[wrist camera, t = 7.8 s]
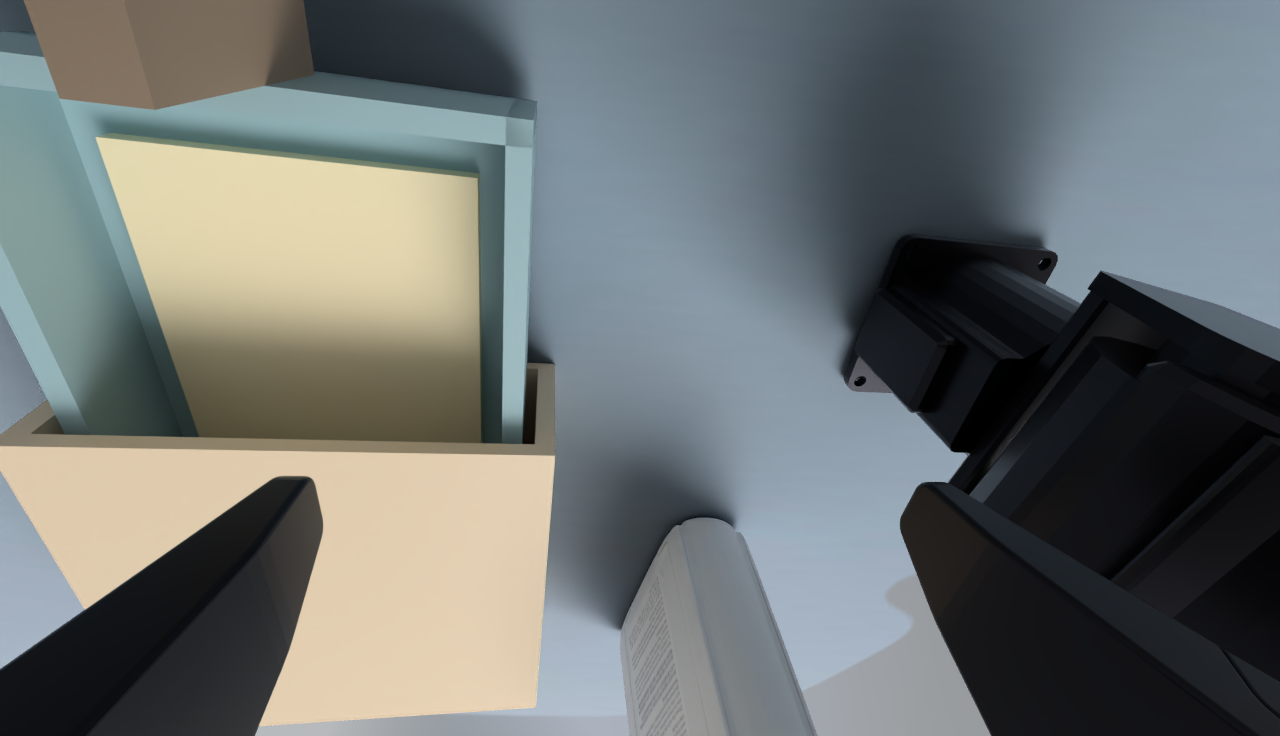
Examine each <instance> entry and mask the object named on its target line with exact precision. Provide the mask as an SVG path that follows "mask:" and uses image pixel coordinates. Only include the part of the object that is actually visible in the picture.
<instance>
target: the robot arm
mask: <svg viewBox="0 0 1280 736" xmlns="http://www.w3.org/2000/svg"><path fill="white" fill-rule="evenodd" d="M912 245H914V249H913V250H912V252H910V253H909V254H907V250H908V249H909V247H911V246H912ZM1041 260H1043V261H1042V262H1041V263H1040V261H1041ZM1057 261H1058V256H1057V255H1056V253H1055V252H1052V251H1050V250H1048V249H1046V248H1041V247H1032V246H1022V245H1013V244H1003V243H994V242H984V241H975V240H965V239H955V238H946V237H936V236H927V235H917V234H909V235H906V236H904V237H902V238H901V239H900V240H899V241H898V242H897V244H896V245H895V248H894V250H893V253H892V255H891V258H890V260H889V263H888V266H887V268H886V271H885V273H884V276H883V278H882V281H881V283H880V286H879V289H878V291H877V292H876V294H875V296H874V298H873V301H872V303H871V306H870V309H869V311H868V314H867V316H866V319H865V321H864V324H863V327H862V329H861V332H860V334H859V337H858V339H857V342H856V344H855V347H854V353H853V355H852V358H851V360H850V363H849V365H848V368H847V370H846V373H845V376H844V381H845V383H846V385H847V386H848V387H849V388H850V389H851V390H852V391H858V392H881V393H893V394H894V395H895V396H896V398H897V399H898V400H899V401H900V402H901V403H902V404H903V405H904V406H905V407H906V408H907V409H908V411H910V412H912V413H916V414H917V415H918V416H919V417H920V418H921V419H922V420H923V421H924V422H925V423H926V424H927V425H928V426H929V427H930V429H931V430H932V431H933V432H934V433H935V434H936V435H937V436H938V437H939V438H940V439H941V440H942V441H943V442H944V444H945V445H946V446H947V447H948V448H949V449H950V450H951V451H953V452H964V453H965V454H966V455H967V458H966V459H965V460H964V462H963V463H962V464H961V466H960V467H959V468H958V470H957V471H956V472H955V474H954V475H953V476H952V478H951V479H950V481H949V482H948V483H945V482H924V483H921V484H920V485H919V486H918V487H917V488H916V490H915V492H914V493H913V495H912V497H911V499H910V501H909V503H908V505H907V506H906V508H905V510H904V512H903V514H902V516H901V519H900V530H901V534H902V536H903V539H904V542H905V544H906V547H907V549H908V552H909V555H910V557H911V560H912V563H913V565H914V568H915V570H916V573H917V576H918V578H919V581H920V583H921V586H922V589H923V591H924V594H925V596H926V599H927V602H928V604H929V607H930V609H931V612H932V614H933V617H934V619H935V622H936V624H937V626H938V628H939V630H940V632H941V635H942V637H943V639H944V641H945V643H946V645H947V647H948V649H949V651H950V653H951V655H952V657H953V659H954V661H955V663H956V665H957V667H958V669H959V671H960V673H961V675H962V677H963V679H964V682H965V683H966V686H967V688H968V690H969V692H970V694H971V696H972V698H973V700H974V702H975V704H976V706H977V708H978V710H979V712H980V714H981V716H982V718H983V720H984V722H985V724H986V726H987V728H988V730H989V732H990V734H991V736H1280V329H1278V328H1276V327H1273V326H1271V325H1268V324H1266V323H1263V322H1260V321H1258V320H1255V319H1253V318H1250V317H1248V316H1245V315H1243V314H1240V313H1238V312H1235V311H1233V310H1230V309H1228V308H1225V307H1223V306H1220V305H1217V304H1214V303H1211V302H1207V301H1204V300H1200V299H1197V298H1193V297H1190V296H1187V295H1183V294H1180V293H1176V292H1173V291H1169V290H1166V289H1163V288H1159V287H1156V286H1152V285H1149V284H1145V283H1142V282H1138V281H1135V280H1132V279H1128V278H1125V277H1121V276H1118V275H1114V274H1111V273H1108V272H1104V271H1100V272H1099V274H1098V275H1097V277H1096V278H1095V279H1094V281H1093V282H1092V283H1091V285H1090V286H1089V287H1088V289H1089V290H1090V293H1089V294H1088V295H1087V297H1086V298H1085V299H1084V301H1083V302H1082V303H1079V302H1077V301H1075V300H1073V299H1071V298H1069V297H1067V296H1066V295H1064V294H1062V293H1060V292H1058V291H1056V290H1054V289H1052V288H1050V287H1049V286H1047V285H1045V284H1046V282H1047V280H1048V278H1049V277H1050V275H1051V273H1052V271H1053V269H1054V268H1055V266H1056V263H1057ZM1039 263H1040V264H1039ZM1038 264H1039V265H1038ZM859 376H861V377H860V379H858V380H857V381H855V379H856V378H858V377H859ZM322 534H323V517H322V513H321V508H320V504H319V499H318V495H317V490H316V486H315V483H314V481H313V479H312V478H310V477H308V476H278V477H275V478H273V479H271V480H269V481H268V482H267V483H265V484H264V485H262V486H261V487H259V488H258V489H257V490H255V491H254V492H252V493H251V494H249V495H248V496H247V497H245V498H244V499H242V500H241V501H239V502H238V503H237V504H235V505H234V506H232V507H231V508H229V509H228V510H227V511H225V512H224V513H222V514H221V515H219V516H218V517H217V518H215V519H214V520H212V521H211V522H209V523H208V524H207V525H205V526H204V527H202V528H201V529H199V530H198V531H197V532H195V533H194V534H192V535H191V536H189V537H188V538H187V539H185V540H184V541H182V542H181V543H179V544H178V545H177V546H175V547H174V548H172V549H171V550H169V551H168V552H167V553H165V554H164V555H162V556H161V557H160V558H158V559H157V560H155V561H154V562H152V563H151V564H150V565H148V566H147V567H145V568H144V569H142V570H141V571H140V572H138V573H137V574H135V575H134V576H132V577H131V578H130V579H128V580H127V581H125V582H124V583H122V584H121V585H120V586H118V587H117V588H115V589H114V590H112V591H111V592H110V593H108V594H107V595H105V596H104V597H102V598H101V599H100V600H98V601H97V602H95V603H94V604H92V605H91V606H90V607H88V608H87V609H85V610H84V611H82V612H81V613H80V614H78V615H77V616H75V617H74V618H72V619H71V620H70V621H68V622H67V623H65V624H64V625H62V626H61V627H60V628H58V629H57V630H55V631H54V632H52V633H51V634H50V635H48V636H47V637H45V638H44V639H42V640H41V641H40V642H38V643H37V644H35V645H34V646H32V647H31V648H30V649H28V650H27V651H25V652H24V653H22V654H21V655H20V656H18V657H17V658H15V659H14V660H12V661H11V662H10V663H8V664H7V665H5V666H4V667H2V668H1V669H0V736H255V734H256V732H257V729H258V727H259V724H260V722H261V719H262V717H263V715H264V712H265V710H266V707H267V705H268V702H269V700H270V697H271V695H272V693H273V690H274V688H275V685H276V683H277V680H278V678H279V676H280V673H281V671H282V668H283V665H284V663H285V660H286V657H287V655H288V652H289V649H290V646H291V643H292V640H293V637H294V633H295V630H296V627H297V623H298V619H299V616H300V612H301V609H302V605H303V602H304V598H305V595H306V591H307V588H308V584H309V581H310V577H311V574H312V570H313V567H314V563H315V560H316V556H317V553H318V549H319V546H320V542H321V539H322Z"/></svg>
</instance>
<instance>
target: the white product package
mask: <svg viewBox="0 0 1280 736" xmlns="http://www.w3.org/2000/svg"><path fill="white" fill-rule="evenodd" d="M620 652H621V662H622V671H623V680H624V688H625V697H626V706H627V716H628V725H629V734H630V736H817V733H816V730H815V728H814V725H813V722H812V719H811V716H810V714H809V711H808V708H807V705H806V702H805V700H804V697H803V694H802V692H801V689H800V686H799V683H798V681H797V678H796V675H795V672H794V670H793V667H792V664H791V661H790V659H789V656H788V653H787V650H786V648H785V645H784V642H783V639H782V637H781V634H780V631H779V628H778V626H777V623H776V620H775V617H774V615H773V612H772V610H771V607H770V604H769V601H768V599H767V596H766V593H765V590H764V588H763V585H762V582H761V579H760V577H759V574H758V571H757V569H756V566H755V564H754V561H753V558H752V556H751V553H750V550H749V548H748V545H747V543H746V541H745V539H744V537H743V535H742V534H741V533H739V532H735V531H734V529H733V528H732V526H731V525H729V524H728V523H726V522H725V521H722V520H719V519H715V518H694V519H689V520H686V521H684V522H683V523H682V524H681V525H676V526H675V527H674V528H673V529H672V530H671V531H670V533H669V534H668V535H667V537H666V538H665V540H664V541H663V543H662V545H661V546H660V548H659V550H658V552H657V554H656V556H655V558H654V560H653V562H652V564H651V566H650V568H649V570H648V572H647V574H646V576H645V578H644V580H643V582H642V584H641V586H640V588H639V590H638V592H637V594H636V596H635V598H634V600H633V603H632V605H631V607H630V609H629V611H628V613H627V616H626V618H625V621H624V624H623V626H622V630H621V637H620Z"/></svg>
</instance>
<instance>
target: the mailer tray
mask: <svg viewBox="0 0 1280 736" xmlns="http://www.w3.org/2000/svg"><path fill="white" fill-rule="evenodd" d="M24 3H25V6H26V8H27V11H28V14H29V17H30V19H31V22H32V25H33V28H34V30H35V33H32V32H25V31H7V32H0V307H1V309H2V311H3V313H4V315H5V317H6V319H7V320H8V322H9V324H10V326H11V328H12V330H13V332H14V334H15V336H16V338H17V340H18V342H19V344H20V346H21V348H22V350H23V352H24V354H25V356H26V358H27V360H28V362H29V364H30V366H31V368H32V370H33V372H34V374H35V376H36V378H37V380H38V382H39V384H40V386H41V388H42V390H43V392H44V394H45V396H46V398H47V400H48V402H49V404H50V406H51V408H52V410H53V412H54V414H55V416H56V418H57V420H58V421H59V423H60V425H61V427H62V429H63V431H64V433H65V435H109V436H156V437H204V438H252V439H300V440H348V441H395V442H443V443H491V444H524V428H525V402H526V377H527V351H528V325H529V299H530V273H531V248H532V222H533V196H534V170H535V144H536V119H537V101H532V100H525V99H518V98H510V97H503V96H496V95H488V94H481V93H473V92H466V91H459V90H451V89H444V88H437V87H429V86H422V85H415V84H407V83H400V82H393V81H385V80H378V79H370V78H363V77H356V76H348V75H341V74H334V73H326V72H319V71H314V68H313V61H312V54H311V48H310V41H309V34H308V27H307V20H306V14H305V7H304V0H24Z"/></svg>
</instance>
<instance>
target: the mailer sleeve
mask: <svg viewBox="0 0 1280 736" xmlns="http://www.w3.org/2000/svg"><path fill="white" fill-rule="evenodd" d="M554 465H555V364H543V363H527V377H526V402H525V428H524V444H491V443H443V442H395V441H348V440H300V439H252V438H204V437H156V436H109V435H65V433H64V431H63V429H62V427H61V425H60V423H59V421H58V420H57V418H56V416H55V414H54V412H53V410H52V408H51V406H50V404H49V402H48V400H46V401H45V402H44V403H42V404H41V405H40V406H38V407H37V408H35V409H34V410H33V411H31V412H30V413H29V414H27V415H26V416H25V417H23V418H22V419H21V420H19V421H18V422H17V423H15V424H14V425H13V426H11V427H10V428H9V429H7V430H6V431H5V432H3V433H2V434H1V435H0V471H1V472H2V474H3V476H4V477H5V479H6V481H7V482H8V484H9V486H10V487H11V489H12V490H13V492H14V494H15V495H16V497H17V499H18V500H19V502H20V504H21V505H22V507H23V509H24V510H25V512H26V514H27V515H28V517H29V518H30V520H31V522H32V523H33V525H34V527H35V528H36V530H37V532H38V533H39V535H40V537H41V538H42V540H43V542H44V543H45V545H46V546H47V548H48V550H49V551H50V553H51V555H52V556H53V558H54V560H55V561H56V563H57V565H58V566H59V568H60V570H61V571H62V573H63V574H64V576H65V578H66V579H67V581H68V583H69V584H70V586H71V588H72V589H73V591H74V593H75V594H76V596H77V597H78V599H79V601H80V602H81V604H82V606H83V607H84V609H87V608H88V607H90V606H91V605H92V604H94V603H95V602H97V601H98V600H100V599H101V598H102V597H104V596H105V595H107V594H108V593H110V592H111V591H112V590H114V589H115V588H117V587H118V586H120V585H121V584H122V583H124V582H125V581H127V580H128V579H130V578H131V577H132V576H134V575H135V574H137V573H138V572H140V571H141V570H142V569H144V568H145V567H147V566H148V565H150V564H151V563H152V562H154V561H155V560H157V559H158V558H160V557H161V556H162V555H164V554H165V553H167V552H168V551H169V550H171V549H172V548H174V547H175V546H177V545H178V544H179V543H181V542H182V541H184V540H185V539H187V538H188V537H189V536H191V535H192V534H194V533H195V532H197V531H198V530H199V529H201V528H202V527H204V526H205V525H207V524H208V523H209V522H211V521H212V520H214V519H215V518H217V517H218V516H219V515H221V514H222V513H224V512H225V511H227V510H228V509H229V508H231V507H232V506H234V505H235V504H237V503H238V502H239V501H241V500H242V499H244V498H245V497H247V496H248V495H249V494H251V493H252V492H254V491H255V490H257V489H258V488H259V487H261V486H262V485H264V484H265V483H267V482H268V481H269V480H271V479H273V478H275V477H278V476H308V477H310V478H312V479H313V481H314V483H315V486H316V490H317V495H318V499H319V504H320V508H321V513H322V517H323V534H322V539H321V542H320V546H319V549H318V553H317V556H316V560H315V563H314V567H313V570H312V574H311V577H310V581H309V584H308V588H307V591H306V595H305V598H304V602H303V605H302V609H301V612H300V616H299V619H298V623H297V627H296V630H295V633H294V637H293V640H292V643H291V646H290V649H289V652H288V655H287V657H286V660H285V663H284V665H283V668H282V671H281V673H280V676H279V678H278V680H277V683H276V685H275V688H274V690H273V693H272V695H271V697H270V700H269V702H268V705H267V707H266V710H265V712H264V715H263V717H262V719H261V722H260V724H259V726H268V725H283V724H297V723H312V722H327V721H342V720H357V719H373V718H387V717H402V716H417V715H432V714H447V713H462V712H477V711H492V710H507V709H522V708H536V698H537V685H538V672H539V659H540V646H541V633H542V620H543V607H544V594H545V581H546V568H547V555H548V543H549V530H550V517H551V504H552V491H553V478H554Z"/></svg>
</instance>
